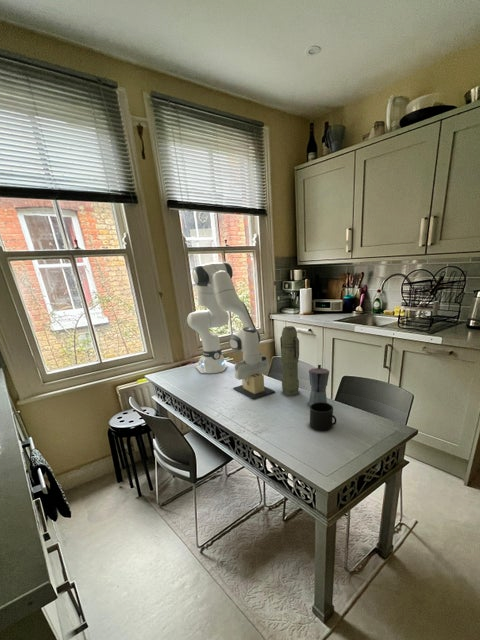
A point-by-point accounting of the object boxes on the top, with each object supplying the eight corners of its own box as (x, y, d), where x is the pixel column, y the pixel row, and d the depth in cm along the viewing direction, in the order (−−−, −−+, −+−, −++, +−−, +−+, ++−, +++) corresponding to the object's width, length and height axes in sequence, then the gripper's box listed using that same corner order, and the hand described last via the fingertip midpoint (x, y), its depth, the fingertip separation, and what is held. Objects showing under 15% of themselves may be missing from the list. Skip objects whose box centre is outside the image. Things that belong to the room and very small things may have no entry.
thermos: (287, 387, 176) (285, 324, 162) (304, 392, 169) (304, 326, 154) (276, 392, 170) (274, 327, 156) (294, 398, 163) (293, 330, 148)
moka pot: (327, 398, 160) (328, 360, 152) (329, 412, 146) (331, 371, 138) (308, 398, 161) (308, 360, 153) (308, 412, 147) (309, 371, 139)
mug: (329, 436, 127) (330, 416, 123) (305, 427, 134) (305, 408, 131) (341, 426, 133) (342, 407, 129) (318, 418, 141) (318, 400, 137)
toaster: (264, 390, 171) (263, 375, 167) (254, 394, 168) (253, 378, 164) (250, 384, 181) (249, 369, 177) (241, 387, 178) (240, 372, 174)
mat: (233, 389, 178) (233, 387, 178) (253, 382, 185) (253, 381, 185) (253, 399, 163) (253, 398, 163) (274, 392, 171) (274, 391, 170)
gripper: (237, 364, 159) (239, 389, 165) (270, 356, 170) (271, 380, 175) (231, 361, 164) (233, 386, 169) (263, 353, 175) (264, 377, 180)
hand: (253, 383), depth 172 cm, fingers closed on toaster, 6 cm apart
